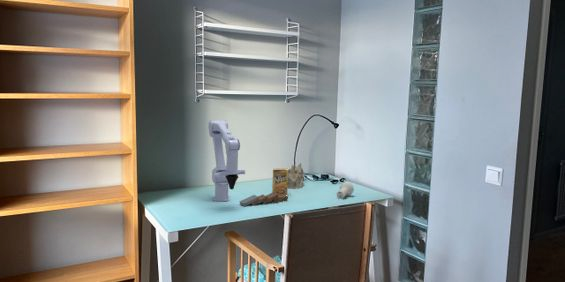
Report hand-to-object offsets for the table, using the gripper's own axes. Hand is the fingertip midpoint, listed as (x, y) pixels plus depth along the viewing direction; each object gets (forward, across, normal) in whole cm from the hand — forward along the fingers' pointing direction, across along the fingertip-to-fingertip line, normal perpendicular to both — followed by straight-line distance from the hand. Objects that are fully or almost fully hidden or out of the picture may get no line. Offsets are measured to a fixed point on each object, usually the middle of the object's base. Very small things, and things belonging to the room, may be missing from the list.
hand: (231, 188), depth 217 cm
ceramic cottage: (+10, +56, +25) cm, 62 cm away
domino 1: (+9, +7, +1) cm, 11 cm away
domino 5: (+10, +24, 0) cm, 26 cm away
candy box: (+10, +37, +10) cm, 40 cm away
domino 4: (+8, +25, 0) cm, 26 cm away
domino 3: (+9, +19, 0) cm, 21 cm away
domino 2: (+9, +12, 0) cm, 15 cm away
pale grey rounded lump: (+10, +69, -11) cm, 70 cm away
